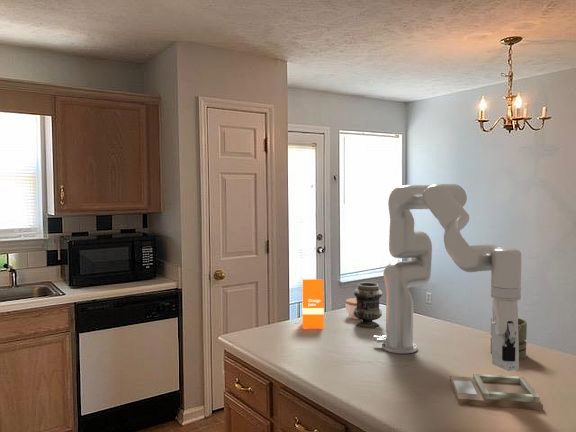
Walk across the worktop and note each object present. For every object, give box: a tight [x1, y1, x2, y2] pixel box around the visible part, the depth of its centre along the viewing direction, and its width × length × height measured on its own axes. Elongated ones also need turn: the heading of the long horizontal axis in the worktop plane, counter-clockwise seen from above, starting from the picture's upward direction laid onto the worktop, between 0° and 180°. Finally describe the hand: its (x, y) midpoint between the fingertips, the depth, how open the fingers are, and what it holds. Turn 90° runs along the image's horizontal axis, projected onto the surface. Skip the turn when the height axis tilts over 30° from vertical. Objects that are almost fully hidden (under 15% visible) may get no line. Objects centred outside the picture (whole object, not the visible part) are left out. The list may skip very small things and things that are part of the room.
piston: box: [490, 317, 528, 361], centre depth 167 cm, size 11×12×11 cm
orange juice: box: [301, 278, 325, 329], centre depth 204 cm, size 8×9×20 cm
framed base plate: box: [449, 373, 544, 411], centre depth 134 cm, size 21×16×3 cm
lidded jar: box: [344, 296, 360, 320], centre depth 217 cm, size 11×11×9 cm
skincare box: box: [490, 322, 520, 372], centre depth 133 cm, size 6×4×12 cm
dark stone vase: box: [353, 281, 383, 330], centre depth 203 cm, size 12×12×18 cm
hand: (504, 355), depth 133 cm, fingers closed on skincare box, 7 cm apart
